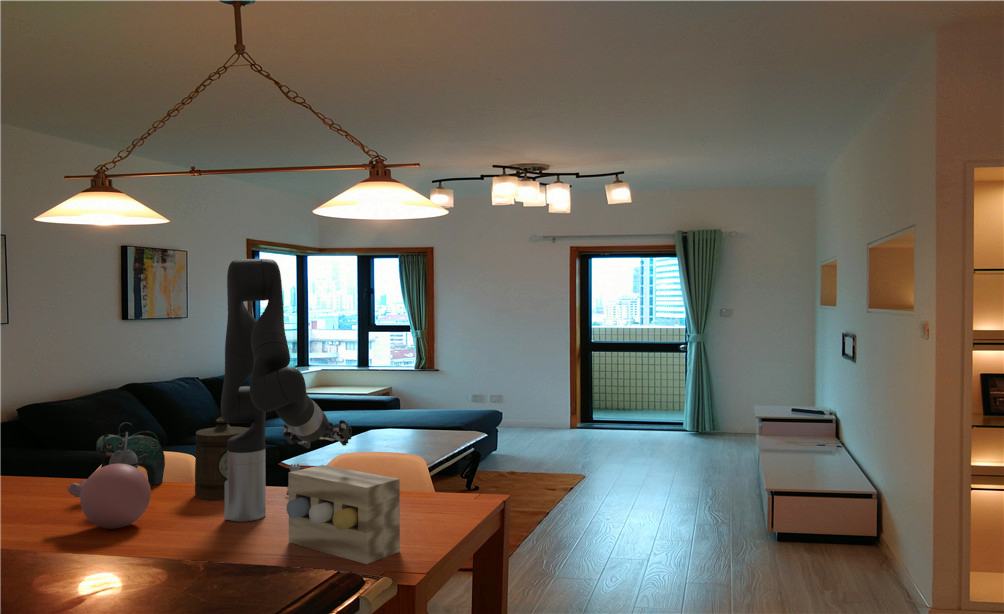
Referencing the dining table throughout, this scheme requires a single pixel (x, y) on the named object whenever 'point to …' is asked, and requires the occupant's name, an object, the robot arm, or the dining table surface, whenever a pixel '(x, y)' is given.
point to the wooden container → (213, 459)
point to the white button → (322, 512)
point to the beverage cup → (124, 456)
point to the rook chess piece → (293, 468)
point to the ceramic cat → (142, 446)
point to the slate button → (299, 507)
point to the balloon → (113, 495)
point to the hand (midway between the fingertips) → (327, 443)
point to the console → (346, 490)
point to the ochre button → (346, 518)
